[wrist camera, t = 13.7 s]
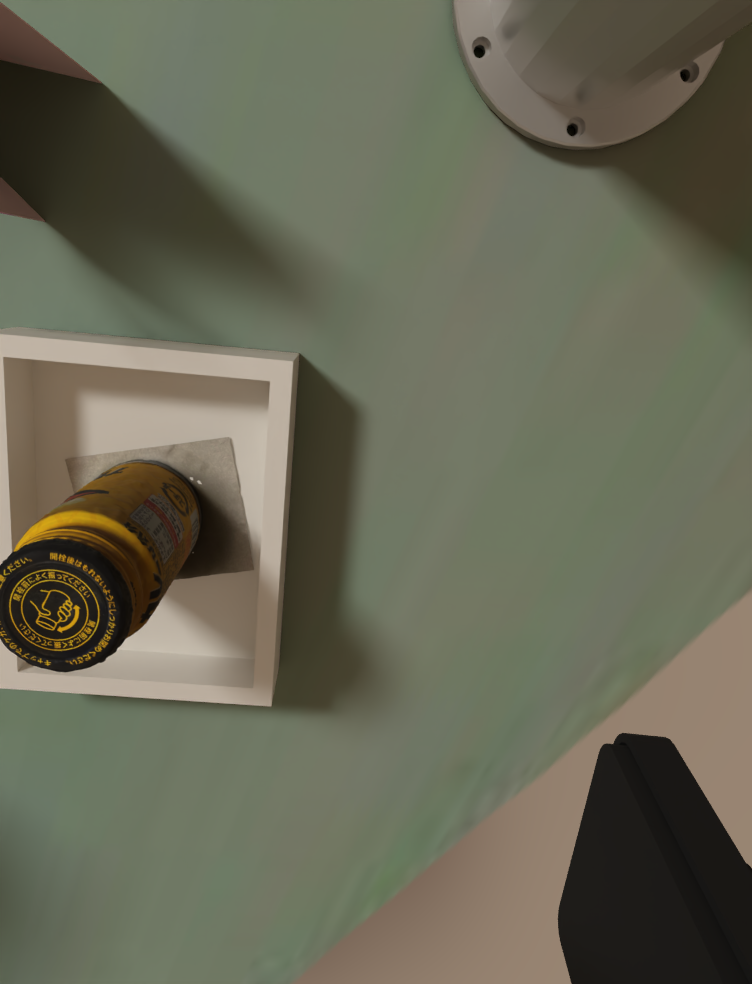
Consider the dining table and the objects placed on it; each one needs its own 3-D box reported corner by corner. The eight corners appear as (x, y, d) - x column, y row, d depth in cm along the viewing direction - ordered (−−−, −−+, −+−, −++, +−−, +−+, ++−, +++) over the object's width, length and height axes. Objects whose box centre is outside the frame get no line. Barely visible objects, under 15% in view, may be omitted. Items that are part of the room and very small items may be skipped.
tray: (19, 326, 36) (-21, 331, 32) (299, 353, 37) (293, 361, 33) (31, 650, 41) (-2, 687, 37) (279, 667, 42) (271, 706, 38)
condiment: (66, 458, 37) (-65, 537, 25) (229, 436, 37) (173, 505, 25) (100, 588, 39) (-7, 716, 27) (255, 567, 39) (213, 687, 27)
